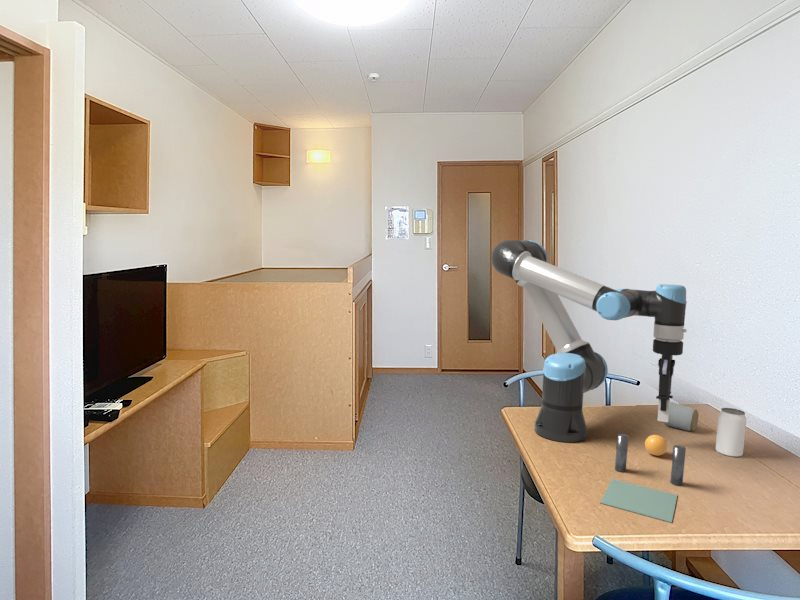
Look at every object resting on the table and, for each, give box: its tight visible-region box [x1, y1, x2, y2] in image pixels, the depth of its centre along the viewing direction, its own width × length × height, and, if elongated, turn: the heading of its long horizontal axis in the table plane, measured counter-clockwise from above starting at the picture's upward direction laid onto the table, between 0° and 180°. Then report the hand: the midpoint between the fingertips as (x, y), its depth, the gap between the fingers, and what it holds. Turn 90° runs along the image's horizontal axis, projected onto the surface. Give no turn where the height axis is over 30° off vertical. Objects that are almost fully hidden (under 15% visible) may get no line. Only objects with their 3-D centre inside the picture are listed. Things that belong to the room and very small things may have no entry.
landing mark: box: [600, 478, 678, 524], centre depth 116 cm, size 14×14×1 cm
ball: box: [644, 434, 668, 457], centre depth 140 cm, size 6×6×6 cm
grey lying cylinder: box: [664, 401, 699, 432], centre depth 163 cm, size 11×8×8 cm
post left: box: [614, 433, 630, 473], centre depth 130 cm, size 3×3×9 cm
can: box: [715, 407, 747, 458], centre depth 143 cm, size 6×6×12 cm
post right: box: [670, 444, 687, 487], centre depth 123 cm, size 3×3×9 cm
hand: (662, 420), depth 148 cm, fingers closed
